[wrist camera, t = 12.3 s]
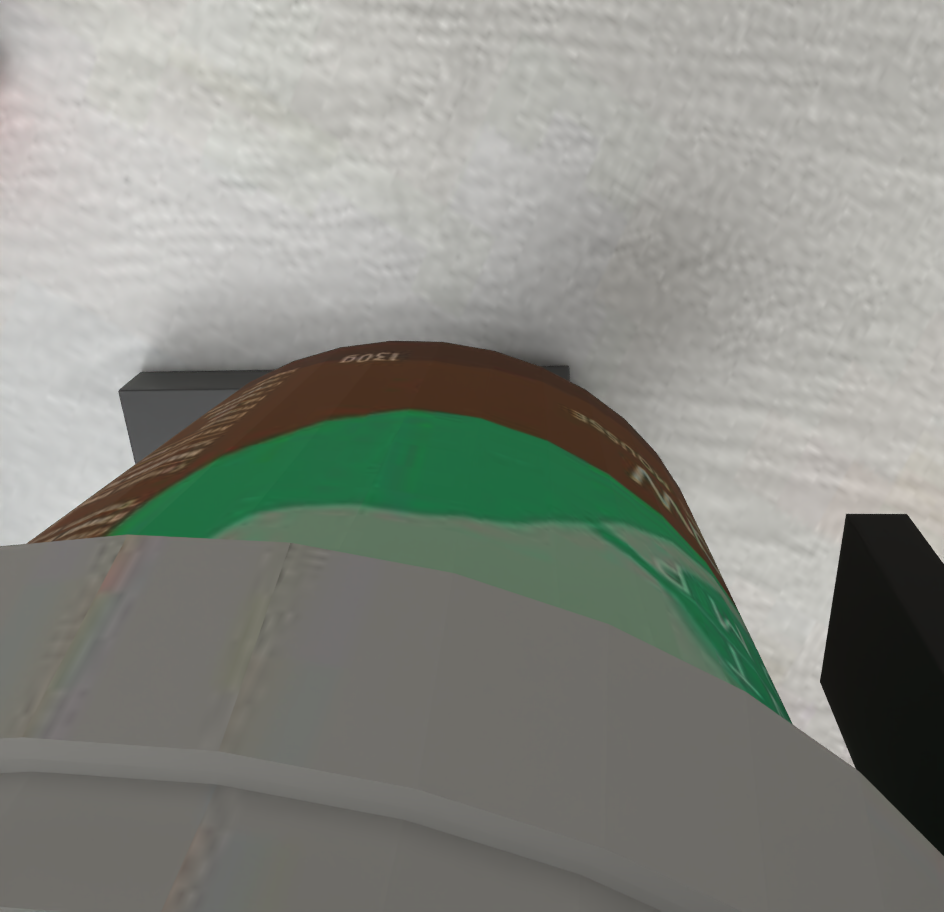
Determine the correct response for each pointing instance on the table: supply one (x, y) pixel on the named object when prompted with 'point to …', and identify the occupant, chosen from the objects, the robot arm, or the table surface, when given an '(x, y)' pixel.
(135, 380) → the grey button box
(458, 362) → the food container
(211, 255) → the table surface
